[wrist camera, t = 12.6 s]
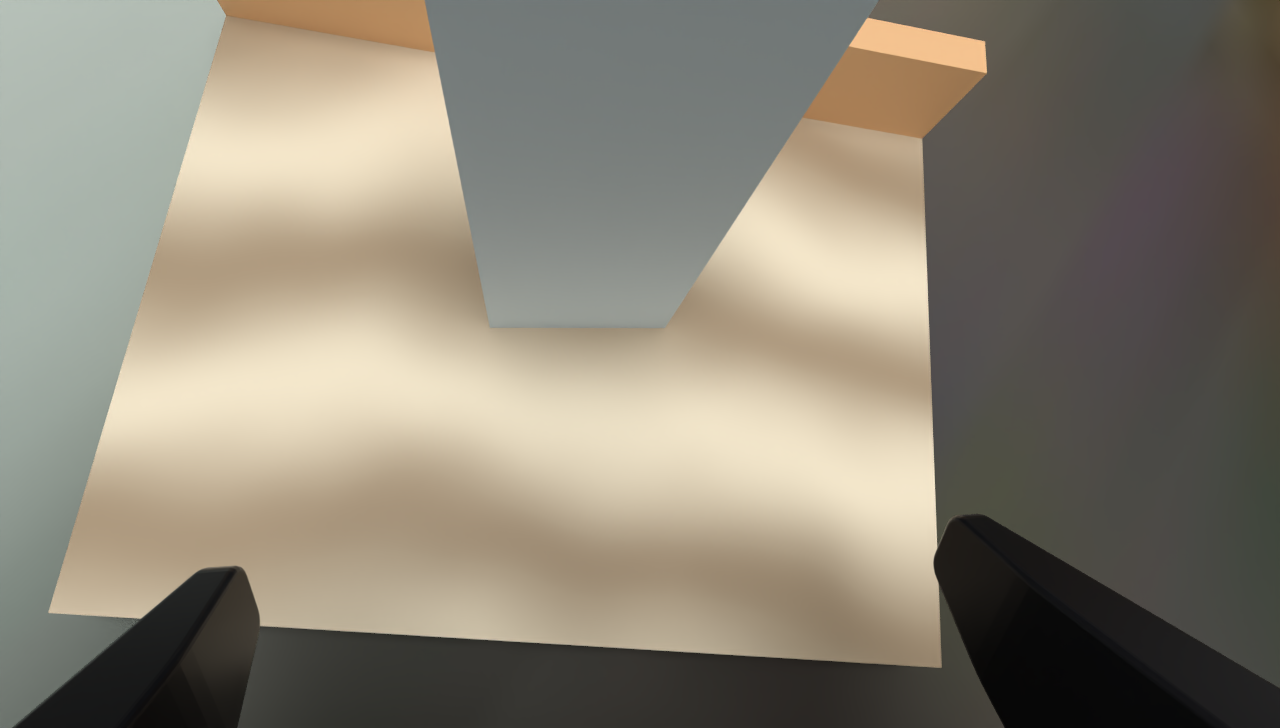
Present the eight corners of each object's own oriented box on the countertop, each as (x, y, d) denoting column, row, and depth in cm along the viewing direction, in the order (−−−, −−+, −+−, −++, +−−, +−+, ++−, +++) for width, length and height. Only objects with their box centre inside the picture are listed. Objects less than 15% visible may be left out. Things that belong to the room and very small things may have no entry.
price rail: (922, 138, 20) (986, 73, 17) (226, 15, 17) (166, -87, 15) (921, 110, 20) (985, 41, 18) (235, -15, 18) (178, -121, 15)
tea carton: (665, 327, 17) (1008, -198, 5) (489, 327, 17) (366, -298, 4) (656, 182, 18) (921, -561, 6) (490, 175, 18) (394, -689, 5)
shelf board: (898, 653, 18) (941, 667, 16) (107, 602, 15) (47, 612, 14) (887, 146, 22) (921, 110, 20) (264, 38, 20) (235, -15, 18)
